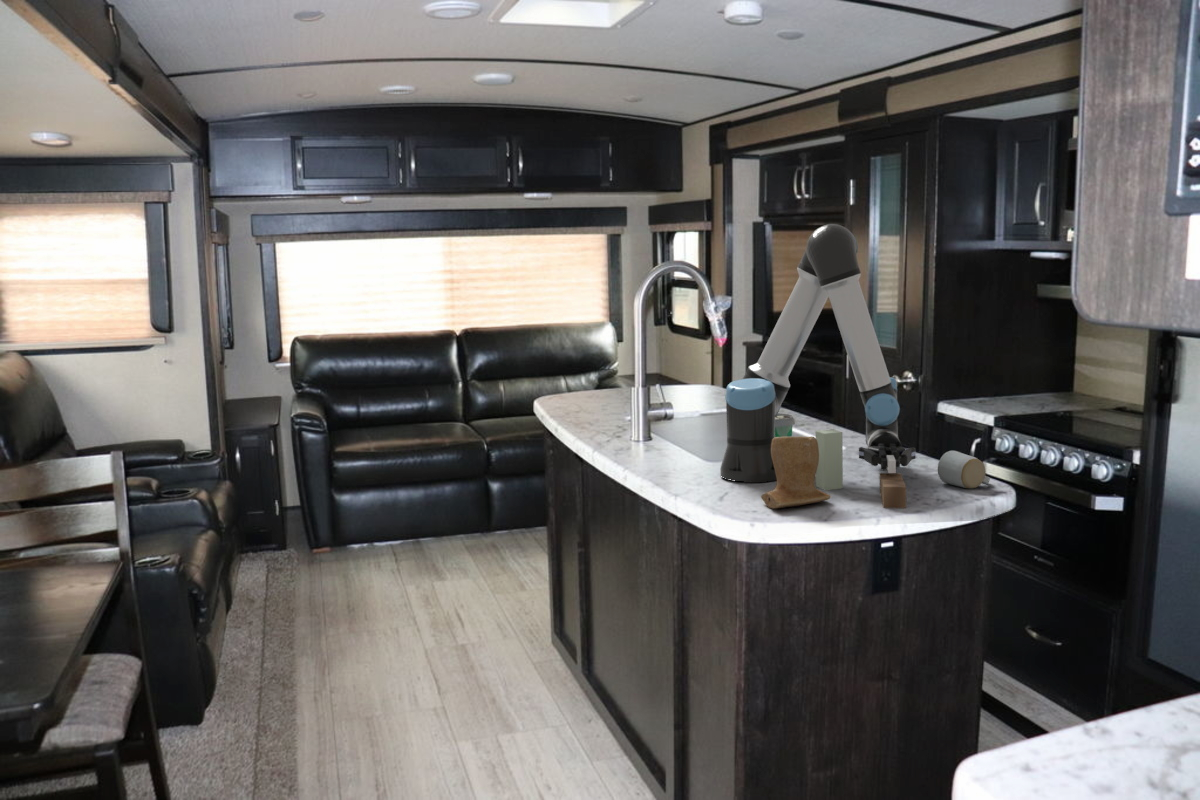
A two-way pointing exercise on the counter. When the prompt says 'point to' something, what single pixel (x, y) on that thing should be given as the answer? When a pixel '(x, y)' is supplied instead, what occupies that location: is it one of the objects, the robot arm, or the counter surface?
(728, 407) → the robot arm
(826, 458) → the sage block
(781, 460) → the cork flared stand
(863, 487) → the counter surface
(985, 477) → the ceramic mug
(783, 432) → the food container
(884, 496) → the walnut block
